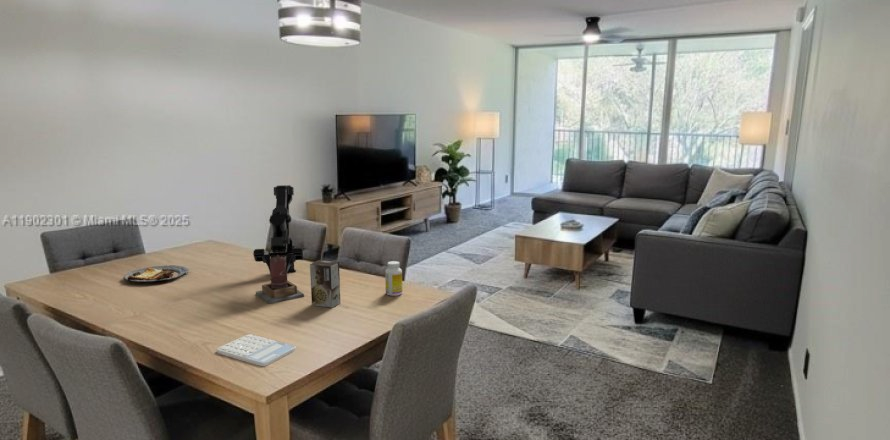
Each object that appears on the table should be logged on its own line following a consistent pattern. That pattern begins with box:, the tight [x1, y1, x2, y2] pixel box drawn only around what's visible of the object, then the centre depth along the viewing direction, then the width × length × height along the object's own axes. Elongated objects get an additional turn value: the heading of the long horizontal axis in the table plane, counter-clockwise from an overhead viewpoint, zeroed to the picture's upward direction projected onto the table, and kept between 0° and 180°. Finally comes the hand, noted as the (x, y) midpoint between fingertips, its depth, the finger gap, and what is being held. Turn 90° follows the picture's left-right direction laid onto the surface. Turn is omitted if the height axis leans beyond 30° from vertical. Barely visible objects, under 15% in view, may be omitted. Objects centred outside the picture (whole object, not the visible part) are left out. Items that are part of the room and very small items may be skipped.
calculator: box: [216, 333, 297, 367], centre depth 162 cm, size 13×20×2 cm, turn 63°
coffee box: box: [309, 259, 341, 309], centre depth 201 cm, size 9×6×16 cm
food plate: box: [123, 264, 190, 283], centre depth 233 cm, size 25×23×4 cm
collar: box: [255, 279, 305, 305], centre depth 211 cm, size 14×14×4 cm
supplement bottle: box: [384, 260, 403, 297], centre depth 214 cm, size 7×7×13 cm
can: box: [270, 255, 288, 290], centre depth 210 cm, size 6×6×14 cm
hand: (278, 273), depth 209 cm, fingers closed on can, 5 cm apart
